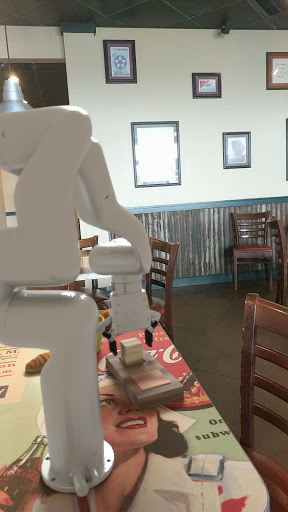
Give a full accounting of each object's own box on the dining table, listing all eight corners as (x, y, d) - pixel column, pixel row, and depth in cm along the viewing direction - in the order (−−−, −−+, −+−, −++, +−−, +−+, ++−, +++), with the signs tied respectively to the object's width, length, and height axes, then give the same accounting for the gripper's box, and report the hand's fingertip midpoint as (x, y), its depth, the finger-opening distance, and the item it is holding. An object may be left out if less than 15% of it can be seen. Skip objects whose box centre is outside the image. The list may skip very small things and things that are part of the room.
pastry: (31, 378, 100) (30, 364, 99) (21, 370, 105) (19, 357, 104) (63, 365, 106) (62, 352, 105) (52, 358, 111) (50, 346, 110)
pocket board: (184, 398, 85) (183, 384, 85) (139, 411, 81) (138, 397, 81) (143, 357, 107) (142, 346, 107) (106, 366, 103) (105, 354, 103)
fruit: (95, 330, 126) (98, 306, 129) (103, 333, 133) (106, 311, 136) (117, 331, 124) (120, 307, 126) (125, 335, 131) (128, 312, 134)
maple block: (144, 372, 99) (142, 343, 97) (127, 376, 97) (125, 347, 95) (137, 365, 103) (135, 337, 101) (122, 369, 101) (119, 340, 100)
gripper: (98, 296, 89) (104, 363, 92) (164, 284, 96) (167, 347, 99) (89, 288, 96) (96, 351, 99) (152, 278, 102) (155, 337, 106)
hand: (131, 349), depth 99 cm, fingers open, 9 cm apart
